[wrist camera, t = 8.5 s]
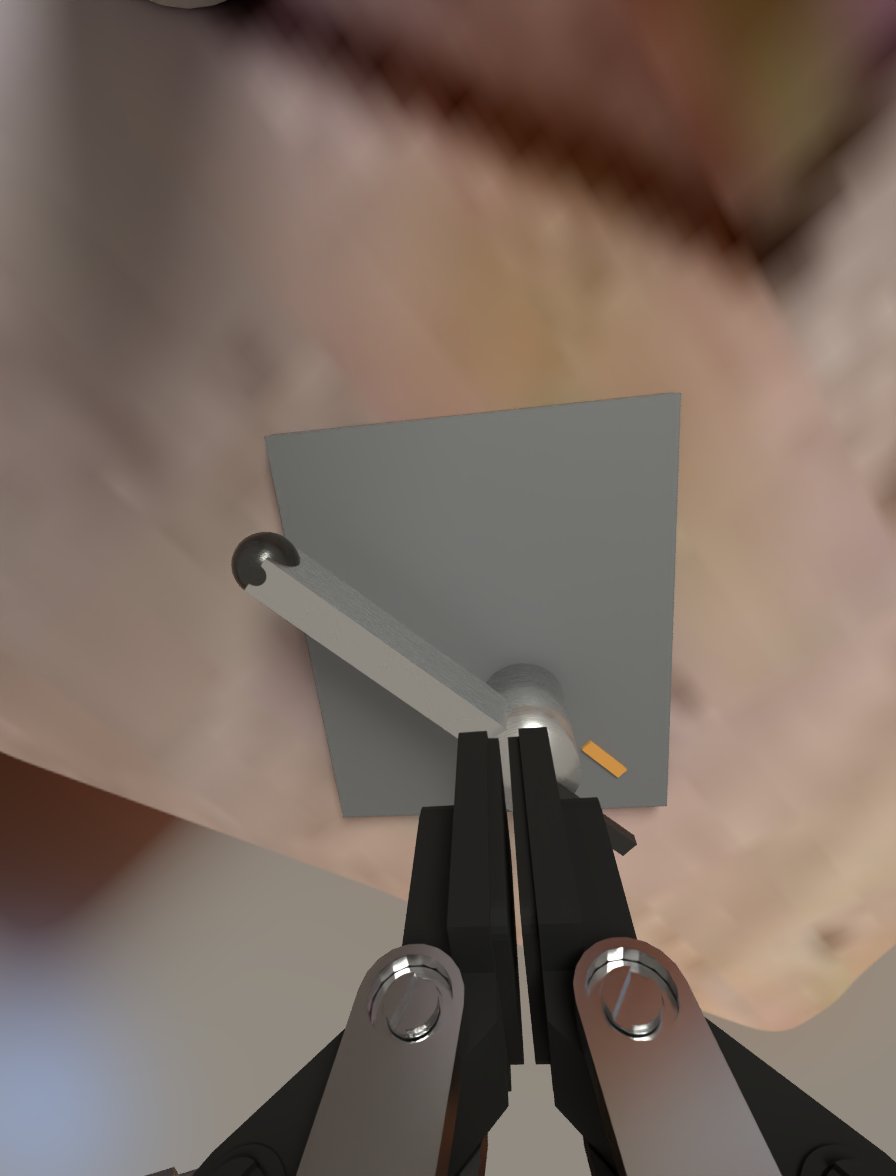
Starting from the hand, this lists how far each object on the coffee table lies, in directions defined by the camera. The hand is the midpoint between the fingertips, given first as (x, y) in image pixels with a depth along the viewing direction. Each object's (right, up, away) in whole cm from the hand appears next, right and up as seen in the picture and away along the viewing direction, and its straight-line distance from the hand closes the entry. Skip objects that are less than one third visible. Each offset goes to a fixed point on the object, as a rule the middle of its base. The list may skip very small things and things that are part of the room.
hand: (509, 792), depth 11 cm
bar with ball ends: (-1, 0, +23) cm, 23 cm away
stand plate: (+1, +1, +25) cm, 25 cm away
